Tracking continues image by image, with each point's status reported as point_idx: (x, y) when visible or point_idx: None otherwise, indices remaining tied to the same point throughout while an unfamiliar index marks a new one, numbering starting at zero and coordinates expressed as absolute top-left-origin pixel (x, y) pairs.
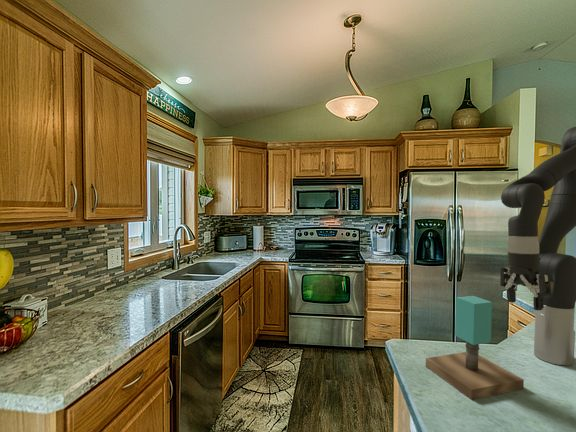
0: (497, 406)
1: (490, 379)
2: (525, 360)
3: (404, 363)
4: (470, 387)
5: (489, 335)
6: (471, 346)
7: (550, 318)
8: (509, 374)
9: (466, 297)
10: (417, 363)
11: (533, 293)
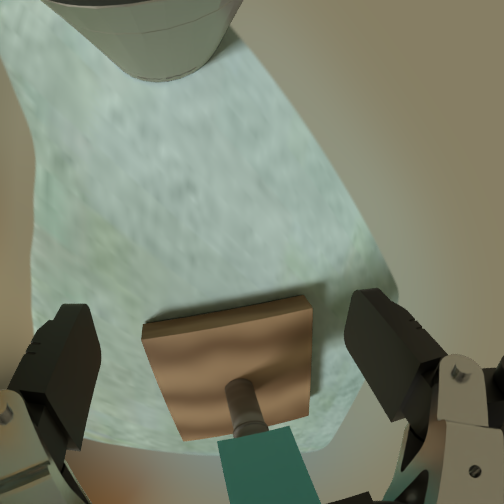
0: (327, 372)
1: (291, 376)
2: (159, 144)
3: (166, 445)
4: (302, 414)
5: (296, 446)
6: None
7: (203, 22)
8: (284, 325)
9: None
10: (165, 430)
11: (410, 450)
